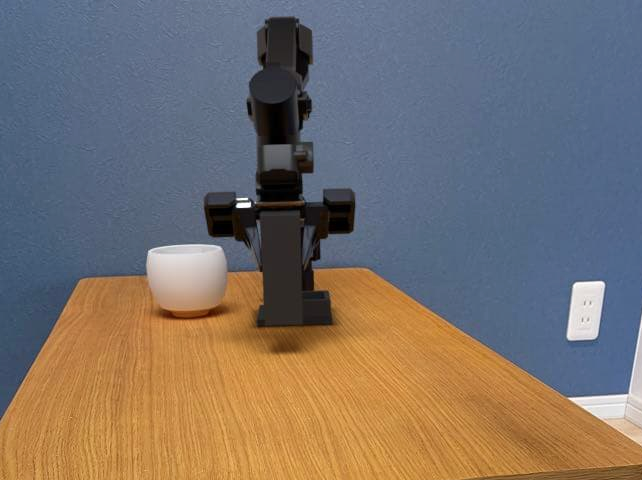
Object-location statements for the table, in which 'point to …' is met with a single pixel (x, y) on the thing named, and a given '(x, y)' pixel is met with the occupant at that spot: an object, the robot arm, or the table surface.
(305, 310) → the base pad
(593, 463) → the table surface
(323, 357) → the table surface
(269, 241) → the post
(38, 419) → the table surface
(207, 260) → the cup
